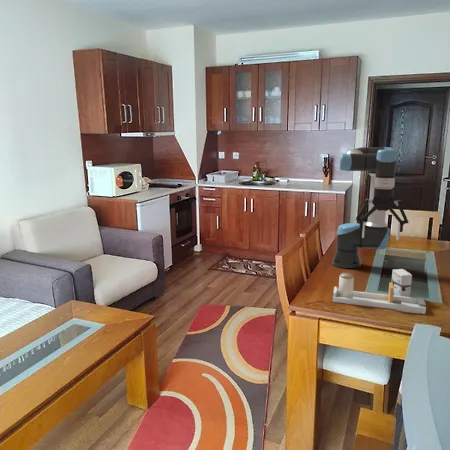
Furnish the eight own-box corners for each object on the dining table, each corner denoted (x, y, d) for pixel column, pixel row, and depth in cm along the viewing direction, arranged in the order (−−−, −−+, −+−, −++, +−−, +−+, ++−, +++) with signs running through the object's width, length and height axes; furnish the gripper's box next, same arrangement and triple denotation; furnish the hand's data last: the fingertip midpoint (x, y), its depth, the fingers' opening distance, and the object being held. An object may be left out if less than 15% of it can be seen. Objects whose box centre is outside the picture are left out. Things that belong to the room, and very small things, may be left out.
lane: (334, 294, 179) (334, 285, 178) (421, 304, 168) (422, 294, 167) (332, 303, 170) (333, 293, 169) (425, 314, 158) (426, 304, 158)
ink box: (389, 293, 180) (391, 268, 177) (400, 293, 180) (402, 268, 178) (399, 301, 172) (401, 275, 169) (410, 300, 172) (412, 274, 170)
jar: (338, 295, 176) (339, 271, 174) (352, 296, 175) (354, 273, 172) (337, 300, 171) (339, 276, 169) (352, 302, 169) (354, 277, 167)
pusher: (387, 300, 171) (389, 282, 169) (399, 301, 169) (401, 283, 167) (388, 306, 164) (390, 288, 162) (401, 308, 163) (403, 289, 161)
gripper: (352, 187, 162) (348, 238, 166) (419, 190, 154) (413, 242, 158) (352, 185, 169) (349, 234, 173) (416, 187, 161) (411, 238, 165)
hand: (380, 238), depth 166 cm, fingers open, 13 cm apart
